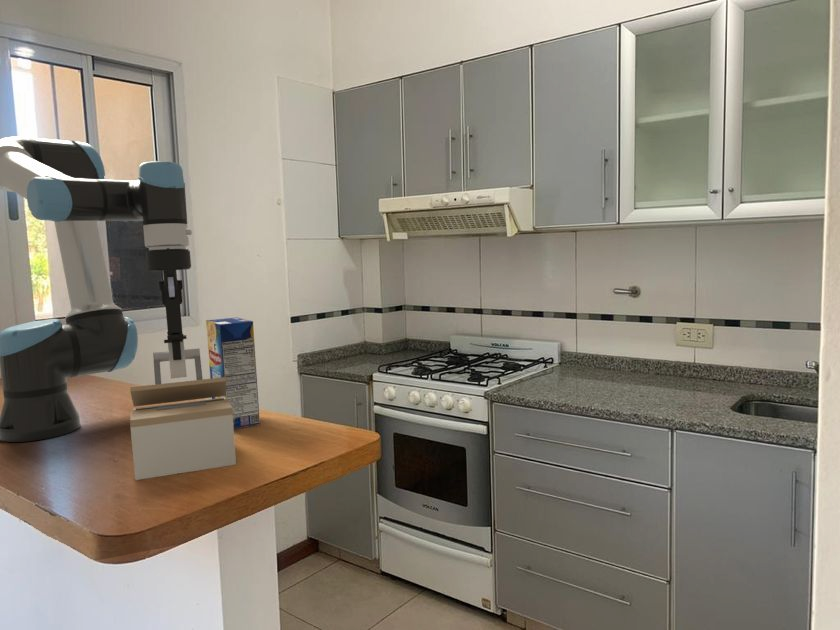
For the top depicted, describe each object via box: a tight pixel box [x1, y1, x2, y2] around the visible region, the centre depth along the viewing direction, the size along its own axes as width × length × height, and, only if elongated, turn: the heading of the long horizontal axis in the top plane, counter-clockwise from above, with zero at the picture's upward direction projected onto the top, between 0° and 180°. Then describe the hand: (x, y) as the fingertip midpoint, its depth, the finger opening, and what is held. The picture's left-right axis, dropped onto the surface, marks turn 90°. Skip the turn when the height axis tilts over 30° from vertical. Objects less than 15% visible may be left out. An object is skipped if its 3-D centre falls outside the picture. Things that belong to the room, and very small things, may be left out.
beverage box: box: [205, 316, 261, 430], centre depth 138 cm, size 7×11×22 cm, turn 33°
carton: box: [129, 398, 237, 481], centre depth 114 cm, size 14×16×10 cm
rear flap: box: [129, 348, 226, 407], centre depth 119 cm, size 7×16×8 cm
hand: (178, 375), depth 119 cm, fingers open, 2 cm apart
